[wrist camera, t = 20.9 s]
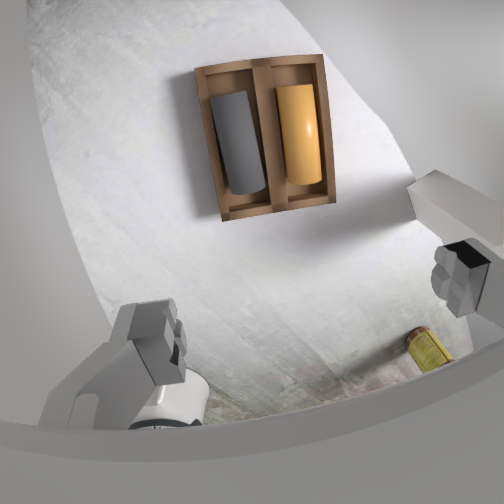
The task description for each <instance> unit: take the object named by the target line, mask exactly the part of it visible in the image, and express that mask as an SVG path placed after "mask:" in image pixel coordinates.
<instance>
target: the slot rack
mask: <svg viewBox="0 0 504 504" xmlns="http://www.w3.org/2000/svg"><path fill="white" fill-rule="evenodd" d="M194 70H195V76H196V82H197V88H198V93H199V99H200V105H201V111H202V116H203V122H204V127H205V133H206V138H207V144H208V149H209V155H210V160H211V165H212V171H213V176H214V181H215V187H216V192H217V197H218V202H219V207H220V213H221V218H222V222H224V221H229V220H235V219H241V218H246V217H252V216H258V215H263V214H269V213H275V212H281V211H287V210H293V209H299V208H305V207H311V206H318V205H324V204H331V203H336V187H335V169H334V155H333V142H332V130H331V119H330V109H329V100H328V91H327V82H326V74H325V66H324V59H323V54H314V55H294V56H281V57H269V58H260V59H251V60H243V61H236V62H229V63H222V64H216V65H210V66H205V67H199V68H194ZM310 84H312V85H313V93H314V101H315V110H316V119H317V129H318V139H319V150H320V162H321V174H322V180H321V181H319V182H317V183H313V184H307V185H295V184H291V183H289V182H288V179H287V171H286V162H285V153H284V145H283V137H282V129H281V121H280V114H279V106H278V99H277V92H276V87H286V86H297V85H310ZM241 91H246V92H247V97H248V101H249V106H250V111H251V115H252V120H253V125H254V130H255V135H256V140H257V145H258V149H259V154H260V159H261V164H262V169H263V174H264V180H265V185H266V186H265V188H263V189H262V190H260V191H258V192H255V193H251V194H246V195H234V194H232V193H231V190H230V186H229V181H228V177H227V173H226V169H225V164H224V160H223V156H222V152H221V147H220V143H219V139H218V135H217V130H216V126H215V122H214V117H213V113H212V109H211V105H210V100H209V98H213V97H217V96H222V95H226V94H231V93H236V92H241Z"/></svg>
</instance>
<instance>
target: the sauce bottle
mask: <svg viewBox="0 0 504 504" xmlns="http://www.w3.org/2000/svg"><path fill="white" fill-rule="evenodd" d="M405 345H406V348H407V349H408V352H409V354H410V355H411V356H412V358H413V359H414V361H415V362H416V364H417V365H418V367H419V368H420V370H421V371H422V372H423V373H426V372H428V371H431V370H433V369H436V368H439V367H441V366H443V365H446V364H448V363H451V362H453V361H455V360H454V359H453V358H452V356H451V355H450V354H449V352H448V351H447V350H446V349H445V347H444V346H443V345H442V344H441V342H440V341H439V340H438V338H437V337H436V336H435V335H434V334H433V332H432V331H430V329H429V328H427V327H419V328H417V329H415V330H414V331H412V332H411V333H410V335H408V337H407V339H406V342H405Z"/></svg>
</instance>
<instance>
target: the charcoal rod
mask: <svg viewBox="0 0 504 504" xmlns="http://www.w3.org/2000/svg"><path fill="white" fill-rule="evenodd" d="M209 100H210V105H211V109H212V113H213V117H214V122H215V126H216V130H217V135H218V139H219V143H220V147H221V152H222V156H223V160H224V164H225V169H226V173H227V177H228V181H229V186H230V190H231V193H232V194H234V195H246V194H251V193H255V192H258V191H260V190H262V189H263V188H265V186H266V185H265V180H264V174H263V169H262V164H261V159H260V154H259V149H258V145H257V140H256V135H255V130H254V125H253V120H252V115H251V111H250V106H249V101H248V97H247V92H246V91H241V92H236V93H231V94H226V95H222V96H217V97H213V98H209Z"/></svg>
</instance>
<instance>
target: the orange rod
mask: <svg viewBox="0 0 504 504" xmlns="http://www.w3.org/2000/svg"><path fill="white" fill-rule="evenodd" d="M276 92H277V99H278V106H279V114H280V121H281V129H282V137H283V145H284V153H285V162H286V171H287V179H288V182H289V183H291V184H295V185H307V184H313V183H317V182H319V181H321V180H322V174H321V162H320V150H319V139H318V129H317V119H316V110H315V101H314V93H313V85H312V84H310V85H297V86H286V87H276Z"/></svg>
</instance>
